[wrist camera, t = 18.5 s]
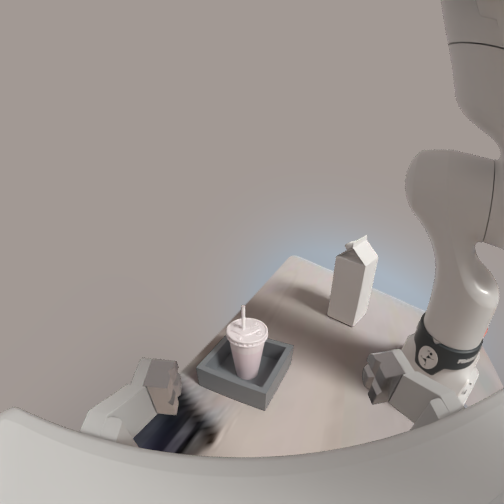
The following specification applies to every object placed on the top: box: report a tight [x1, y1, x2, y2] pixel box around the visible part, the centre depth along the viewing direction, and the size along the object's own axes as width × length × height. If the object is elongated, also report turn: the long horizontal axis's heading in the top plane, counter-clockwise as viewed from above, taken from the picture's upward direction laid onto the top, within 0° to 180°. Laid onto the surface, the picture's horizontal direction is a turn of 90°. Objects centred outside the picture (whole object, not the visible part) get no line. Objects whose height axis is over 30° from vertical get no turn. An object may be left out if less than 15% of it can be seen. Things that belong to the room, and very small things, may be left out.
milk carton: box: [327, 235, 378, 327], centre depth 57 cm, size 7×7×19 cm
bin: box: [196, 335, 294, 411], centre depth 44 cm, size 12×12×4 cm
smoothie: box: [226, 305, 268, 380], centre depth 41 cm, size 6×6×14 cm
